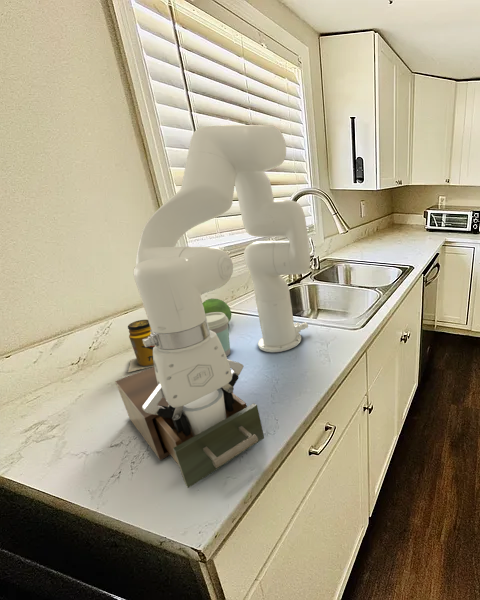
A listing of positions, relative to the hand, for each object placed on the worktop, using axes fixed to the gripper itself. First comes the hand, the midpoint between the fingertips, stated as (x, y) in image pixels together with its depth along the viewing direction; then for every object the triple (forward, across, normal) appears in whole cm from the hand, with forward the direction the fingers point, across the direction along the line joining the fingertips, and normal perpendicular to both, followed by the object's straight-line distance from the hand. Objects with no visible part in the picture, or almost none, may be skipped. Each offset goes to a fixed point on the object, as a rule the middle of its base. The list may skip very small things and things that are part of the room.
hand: (207, 419), depth 60 cm
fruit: (+8, +26, +56) cm, 62 cm away
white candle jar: (+2, 0, 0) cm, 2 cm away
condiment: (+8, +3, +47) cm, 48 cm away
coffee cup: (+8, +17, +35) cm, 40 cm away
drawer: (+6, 0, 0) cm, 6 cm away
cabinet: (+7, 0, +14) cm, 16 cm away
